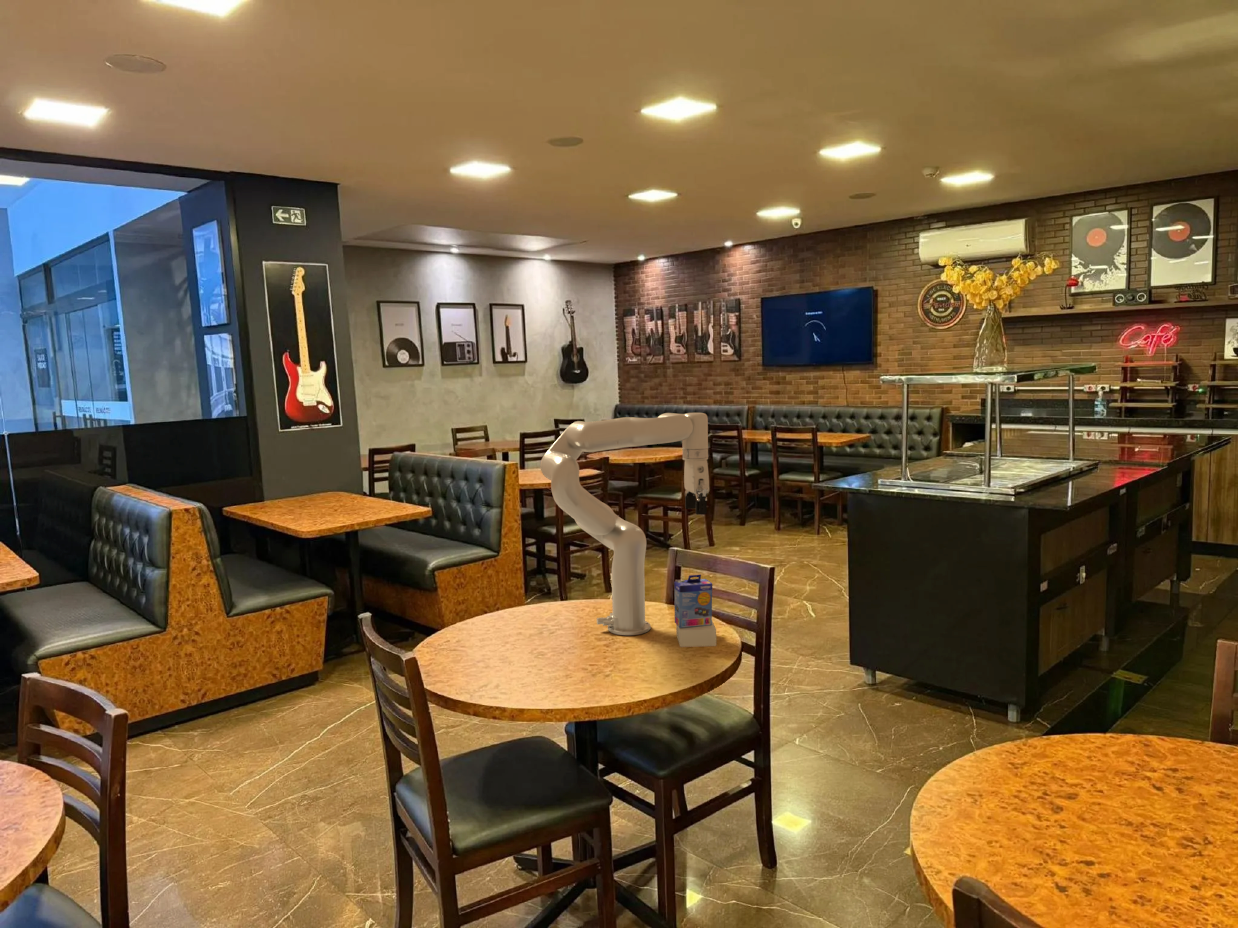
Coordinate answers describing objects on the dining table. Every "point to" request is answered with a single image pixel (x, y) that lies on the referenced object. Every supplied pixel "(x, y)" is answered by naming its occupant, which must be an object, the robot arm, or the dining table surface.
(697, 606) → the ink cartridge box
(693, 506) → the robot arm
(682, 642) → the base block
